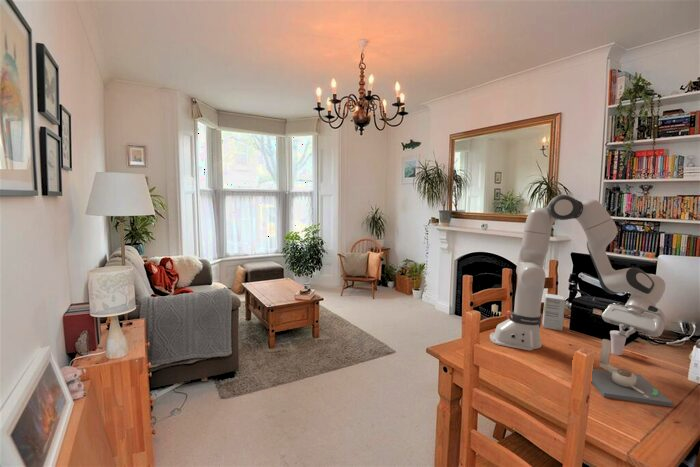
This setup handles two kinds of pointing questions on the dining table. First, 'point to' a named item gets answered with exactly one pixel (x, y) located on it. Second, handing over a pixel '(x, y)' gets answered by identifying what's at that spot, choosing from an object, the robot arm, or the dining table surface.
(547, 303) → the supplement box
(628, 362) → the dining table surface
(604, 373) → the dial plate
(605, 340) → the dial rotor
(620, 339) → the smoothie
